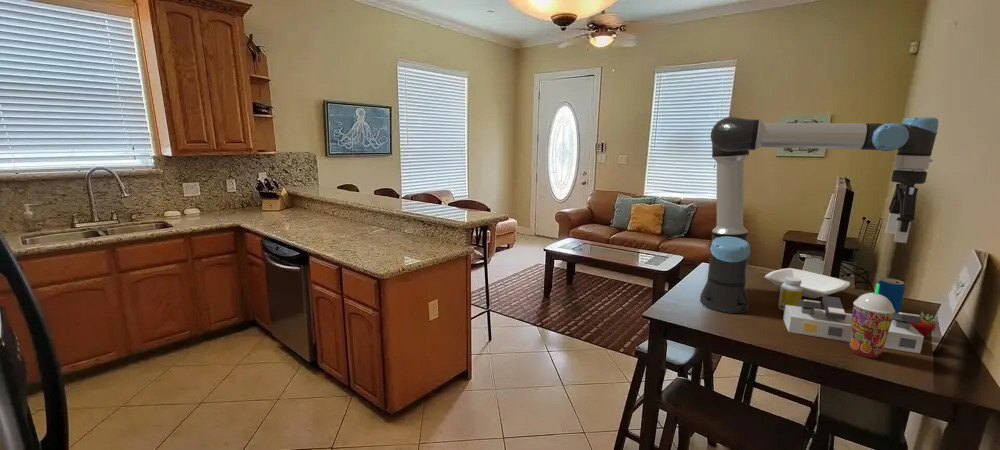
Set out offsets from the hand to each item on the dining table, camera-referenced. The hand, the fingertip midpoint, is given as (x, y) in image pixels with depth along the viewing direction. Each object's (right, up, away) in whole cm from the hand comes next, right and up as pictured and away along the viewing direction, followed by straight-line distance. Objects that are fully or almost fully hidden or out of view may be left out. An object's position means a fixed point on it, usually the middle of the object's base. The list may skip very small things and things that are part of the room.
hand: (895, 237), depth 130 cm
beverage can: (+3, -26, +7) cm, 27 cm away
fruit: (-1, -29, -8) cm, 31 cm away
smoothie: (-24, -31, -17) cm, 43 cm away
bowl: (-9, -22, +26) cm, 36 cm away
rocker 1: (-30, -20, -4) cm, 36 cm away
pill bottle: (-25, -25, +12) cm, 38 cm away
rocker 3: (-10, -22, -13) cm, 28 cm away
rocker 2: (-25, -21, -6) cm, 33 cm away
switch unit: (-21, -29, -6) cm, 36 cm away
